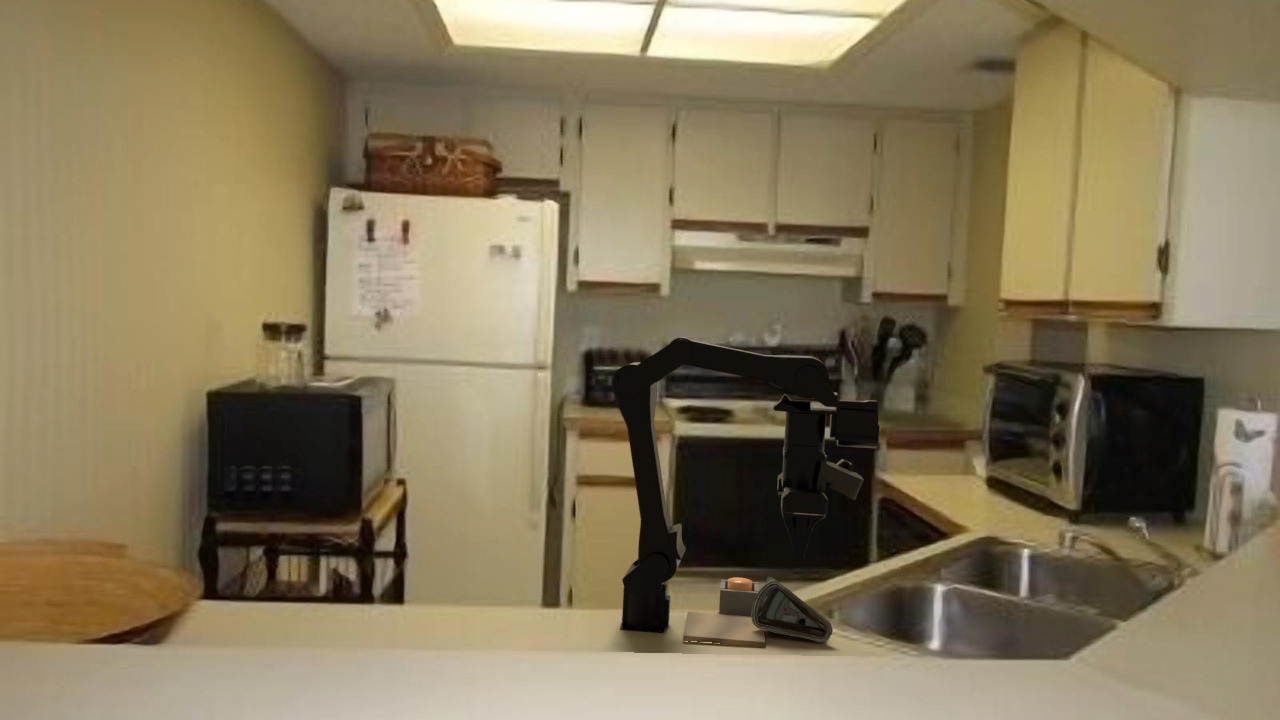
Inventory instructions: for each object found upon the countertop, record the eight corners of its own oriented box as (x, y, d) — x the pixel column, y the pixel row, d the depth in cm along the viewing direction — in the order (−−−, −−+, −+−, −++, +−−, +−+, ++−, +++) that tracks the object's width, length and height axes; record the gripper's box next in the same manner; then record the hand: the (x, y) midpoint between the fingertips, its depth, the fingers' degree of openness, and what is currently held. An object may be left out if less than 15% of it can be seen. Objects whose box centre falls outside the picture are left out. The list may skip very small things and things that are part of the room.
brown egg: (726, 611, 152) (727, 583, 152) (726, 603, 156) (728, 576, 155) (750, 613, 152) (752, 585, 151) (750, 605, 155) (752, 578, 155)
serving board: (682, 642, 138) (683, 635, 138) (687, 618, 149) (687, 611, 149) (764, 649, 137) (764, 642, 137) (763, 624, 148) (763, 617, 148)
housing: (718, 615, 151) (720, 590, 151) (719, 603, 157) (721, 579, 157) (757, 618, 150) (759, 593, 150) (757, 606, 156) (758, 582, 156)
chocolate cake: (842, 634, 145) (795, 566, 150) (837, 633, 138) (789, 561, 143) (789, 670, 145) (745, 601, 150) (782, 670, 139) (736, 598, 144)
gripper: (869, 456, 130) (862, 571, 131) (853, 438, 149) (847, 539, 150) (785, 451, 131) (779, 565, 132) (780, 434, 150) (774, 534, 151)
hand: (798, 550), depth 141 cm, fingers open, 9 cm apart
